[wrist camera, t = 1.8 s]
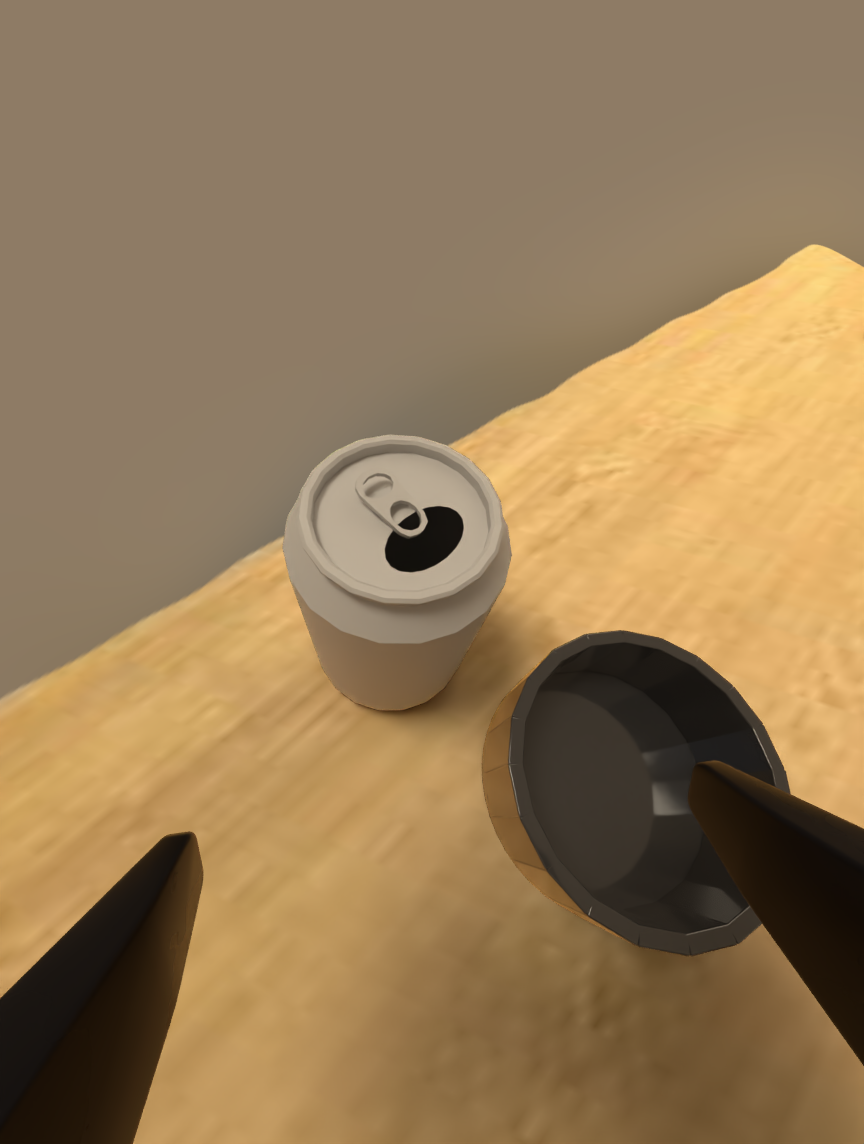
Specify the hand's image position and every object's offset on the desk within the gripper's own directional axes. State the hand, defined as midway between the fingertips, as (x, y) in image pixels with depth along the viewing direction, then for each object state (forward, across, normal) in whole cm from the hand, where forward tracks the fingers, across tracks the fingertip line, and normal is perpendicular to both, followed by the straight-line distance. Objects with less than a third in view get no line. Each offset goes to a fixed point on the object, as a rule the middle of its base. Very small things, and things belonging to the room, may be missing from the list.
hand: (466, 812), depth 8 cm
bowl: (+10, -9, +10) cm, 16 cm away
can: (+16, 0, +4) cm, 16 cm away
